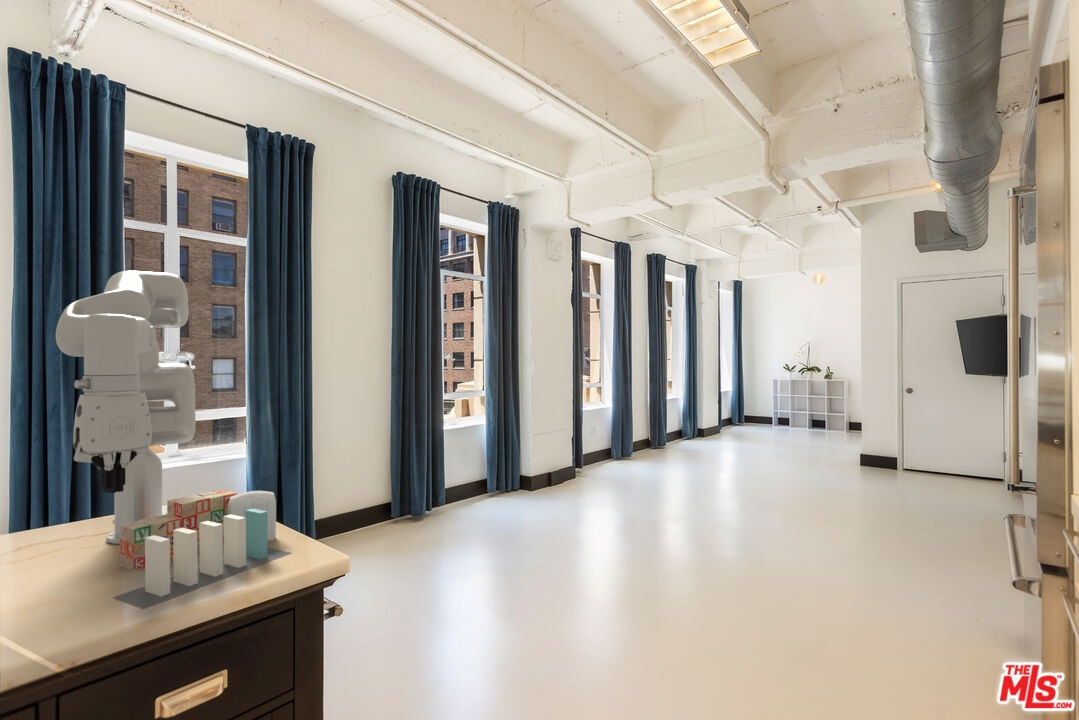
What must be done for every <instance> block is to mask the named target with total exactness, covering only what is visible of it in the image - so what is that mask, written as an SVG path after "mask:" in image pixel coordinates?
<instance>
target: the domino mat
mask: <svg viewBox="0 0 1079 720" xmlns="http://www.w3.org/2000/svg"><path fill="white" fill-rule="evenodd" d="M291 554H292V552H290V551H285V550H281V549H277V548H273V547H269V546H267V558H264V559H262V560H260V559H256V558H252V557H248V556H246V565H245V566H243V567H240V568H237V567H234V566H230V565H226V564H224V558H223V574H221V575H218V576H216V577H214V576H211V575H208V574H204V573H201V572H200V566H199V567H198V583H197V584H194V585H191V586H187V585H184V584H181V583H177V582H174V575H173V576H170V593H169V594H167V595H164V596H158V595H155V594H152V593H149V592H146V591H145V585H144V586H141V587H139V588H136V589H133V590H130V591H127V592H124V593H122V594H121V593H120V594H118V595H116V596H113V597H112V599H114V600H117V601H120V602H123V603H125V604H128V605H130V606H133V607H135V608H138V609H141V610H146V609H147V608H151V607H153V606H156V605H158V604H161V603H164V602H167V601H169V600H172V599H175V598H177V597H179V596H183V595H185V594H188V593H190V592H193V591H196V590H199V589H201V588H203V587H206V586H208V585H212V584H214V583H217V582H219V581H222V580H225V579H227V578H231V577H232V576H233V577H234V576H235V575H238V574H241V573H243V572H247V571H248V570H251V569H254V568H257V567H259V566H262V565H264V564H267V563H270V562H273V561H274V560H278V559H281V558H283V557H286V556H289V555H291Z"/></svg>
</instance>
